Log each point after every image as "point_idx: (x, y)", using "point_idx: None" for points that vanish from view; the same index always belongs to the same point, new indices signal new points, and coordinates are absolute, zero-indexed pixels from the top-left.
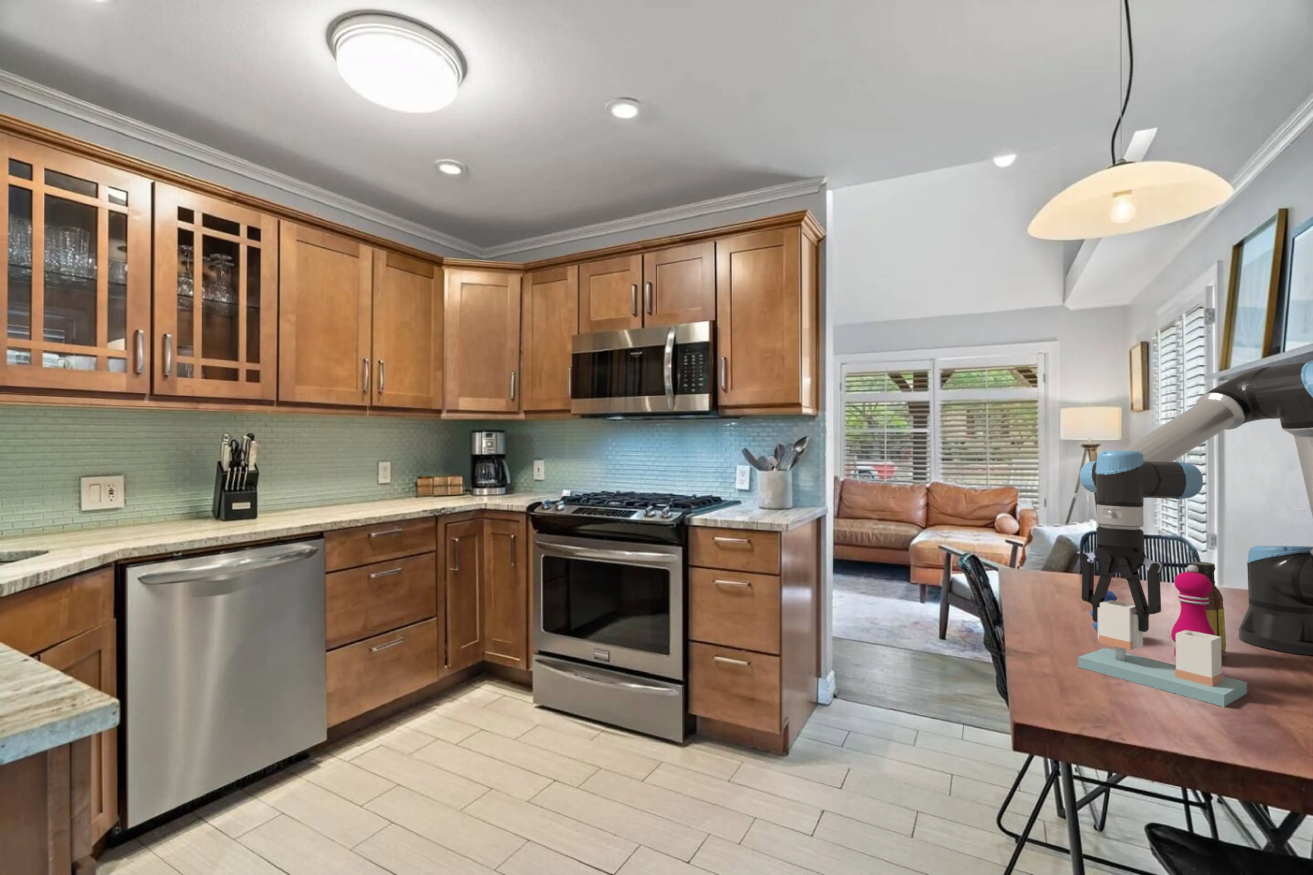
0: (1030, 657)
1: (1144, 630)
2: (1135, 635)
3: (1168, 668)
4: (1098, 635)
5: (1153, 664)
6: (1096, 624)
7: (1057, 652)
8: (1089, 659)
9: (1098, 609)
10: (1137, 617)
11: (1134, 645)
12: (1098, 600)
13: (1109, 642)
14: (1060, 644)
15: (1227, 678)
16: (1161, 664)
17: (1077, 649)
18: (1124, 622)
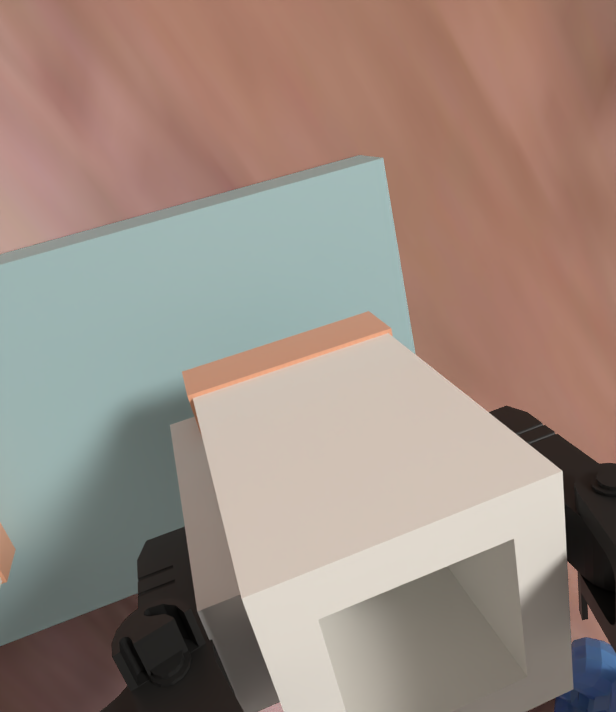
0: (560, 19)
1: (148, 550)
2: (189, 472)
3: (86, 509)
4: None
5: (162, 489)
6: (610, 657)
7: (544, 278)
8: (327, 184)
9: None
10: (197, 597)
11: (189, 429)
12: (611, 524)
13: (312, 338)
14: (601, 407)
15: None
16: (153, 531)
17: None
18: (257, 465)
